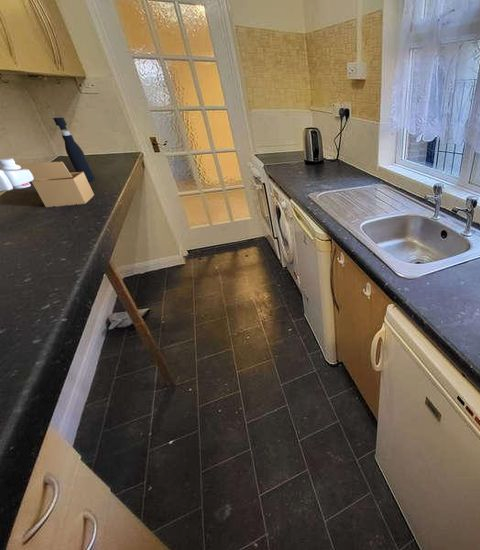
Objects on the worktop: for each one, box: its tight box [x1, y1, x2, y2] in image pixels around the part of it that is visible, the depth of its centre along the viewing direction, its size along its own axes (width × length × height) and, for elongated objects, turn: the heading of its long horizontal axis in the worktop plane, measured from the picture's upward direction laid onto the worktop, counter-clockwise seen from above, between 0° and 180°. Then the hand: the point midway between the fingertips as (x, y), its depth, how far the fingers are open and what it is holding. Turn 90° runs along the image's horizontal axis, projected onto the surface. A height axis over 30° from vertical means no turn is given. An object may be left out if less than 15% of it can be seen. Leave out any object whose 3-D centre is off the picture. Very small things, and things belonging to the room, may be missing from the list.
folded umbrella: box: [53, 117, 97, 182], centre depth 151 cm, size 6×6×30 cm
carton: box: [31, 171, 95, 208], centre depth 127 cm, size 14×13×10 cm
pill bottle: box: [0, 157, 32, 190], centre depth 106 cm, size 5×5×10 cm
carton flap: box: [17, 161, 72, 181], centre depth 116 cm, size 7×13×1 cm
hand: (14, 171), depth 106 cm, fingers closed on pill bottle, 5 cm apart
